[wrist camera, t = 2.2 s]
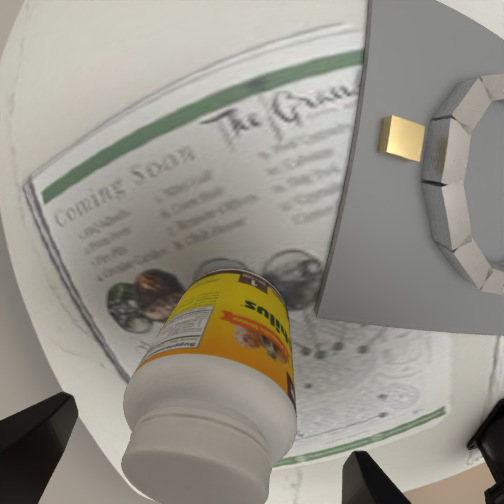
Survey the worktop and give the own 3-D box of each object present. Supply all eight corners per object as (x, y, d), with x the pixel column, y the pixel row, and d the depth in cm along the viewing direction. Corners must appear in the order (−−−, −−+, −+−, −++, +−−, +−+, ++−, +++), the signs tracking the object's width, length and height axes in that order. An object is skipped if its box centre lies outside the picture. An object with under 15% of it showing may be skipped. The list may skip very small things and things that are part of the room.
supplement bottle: (303, 337, 16) (326, 514, 6) (212, 367, 17) (169, 525, 7) (262, 245, 14) (241, 409, 5) (163, 286, 15) (55, 432, 6)
